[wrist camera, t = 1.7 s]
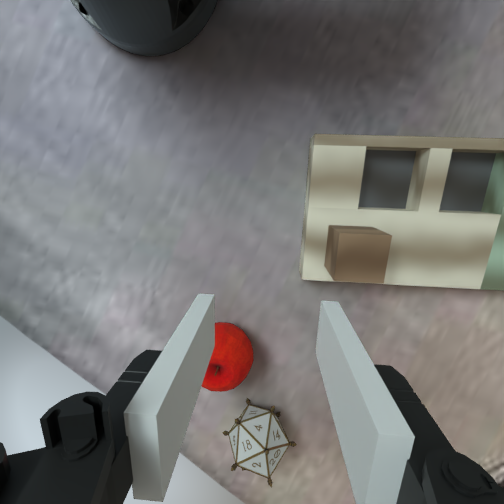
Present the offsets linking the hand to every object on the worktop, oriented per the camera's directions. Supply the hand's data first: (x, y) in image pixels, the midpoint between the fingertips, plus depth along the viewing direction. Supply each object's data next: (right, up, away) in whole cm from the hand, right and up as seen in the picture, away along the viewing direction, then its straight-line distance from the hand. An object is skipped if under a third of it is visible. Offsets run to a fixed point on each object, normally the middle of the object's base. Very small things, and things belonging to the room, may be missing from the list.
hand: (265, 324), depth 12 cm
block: (+10, +4, +16) cm, 19 cm away
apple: (-4, -8, +23) cm, 25 cm away
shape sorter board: (+18, +8, +17) cm, 26 cm away
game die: (0, -20, +26) cm, 33 cm away
